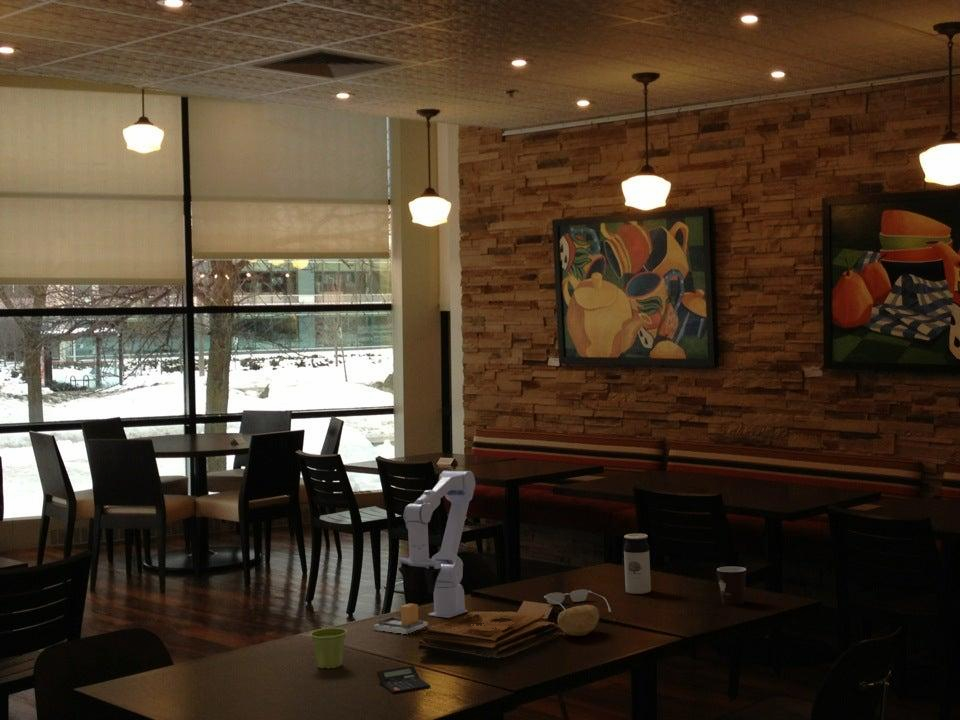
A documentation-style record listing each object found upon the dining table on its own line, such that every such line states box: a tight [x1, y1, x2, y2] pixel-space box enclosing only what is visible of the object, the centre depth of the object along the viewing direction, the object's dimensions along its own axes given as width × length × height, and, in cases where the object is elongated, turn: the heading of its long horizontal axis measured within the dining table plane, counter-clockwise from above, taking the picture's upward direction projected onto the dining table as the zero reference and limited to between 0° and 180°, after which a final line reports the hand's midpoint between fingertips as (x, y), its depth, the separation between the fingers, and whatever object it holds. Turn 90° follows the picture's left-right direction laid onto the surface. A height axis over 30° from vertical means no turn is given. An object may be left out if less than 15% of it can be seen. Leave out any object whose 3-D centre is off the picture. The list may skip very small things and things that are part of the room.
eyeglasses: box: [543, 589, 612, 613], centre depth 355 cm, size 15×18×4 cm
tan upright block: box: [400, 603, 420, 626], centre depth 337 cm, size 4×3×6 cm
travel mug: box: [623, 533, 652, 595], centre depth 375 cm, size 8×8×18 cm
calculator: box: [376, 665, 431, 695], centre depth 283 cm, size 9×12×3 cm
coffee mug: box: [715, 566, 747, 606], centre depth 356 cm, size 12×9×10 cm
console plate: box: [373, 616, 429, 635], centre depth 339 cm, size 10×12×2 cm
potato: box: [557, 604, 600, 637], centre depth 323 cm, size 10×14×8 cm
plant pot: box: [309, 627, 348, 670], centre depth 302 cm, size 9×9×9 cm
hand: (420, 591), depth 342 cm, fingers open, 7 cm apart
